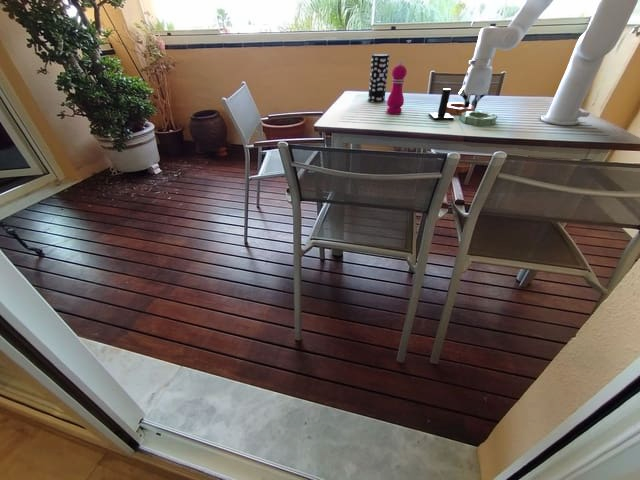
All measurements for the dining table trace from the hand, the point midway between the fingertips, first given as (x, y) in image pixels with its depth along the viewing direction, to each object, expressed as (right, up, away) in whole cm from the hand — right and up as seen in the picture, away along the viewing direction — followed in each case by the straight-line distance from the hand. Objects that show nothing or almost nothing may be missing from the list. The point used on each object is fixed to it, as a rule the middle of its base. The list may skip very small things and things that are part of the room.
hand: (468, 110), depth 134 cm
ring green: (-3, -10, -13) cm, 16 cm away
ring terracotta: (-5, 0, 0) cm, 5 cm away
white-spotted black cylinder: (-38, +13, +19) cm, 44 cm away
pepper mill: (-34, -2, -1) cm, 34 cm away
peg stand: (-16, -7, -8) cm, 19 cm away
